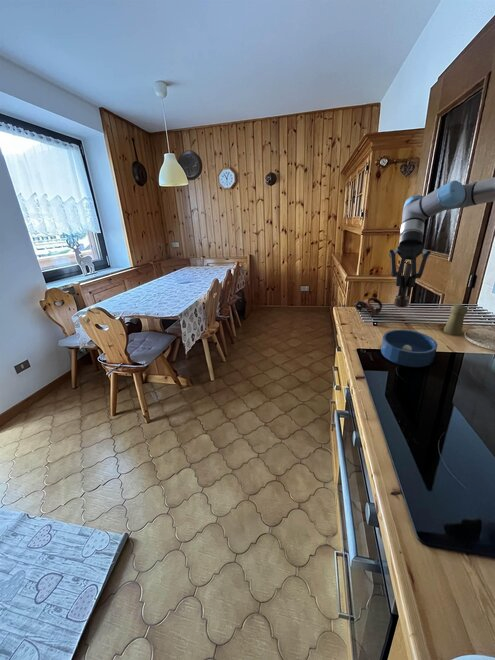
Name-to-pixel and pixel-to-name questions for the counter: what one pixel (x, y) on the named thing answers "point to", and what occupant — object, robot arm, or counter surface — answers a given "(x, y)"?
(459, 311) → the olive green waisted cylinder
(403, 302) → the brown wooden pestle
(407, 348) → the dumpling
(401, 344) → the bowl
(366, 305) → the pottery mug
